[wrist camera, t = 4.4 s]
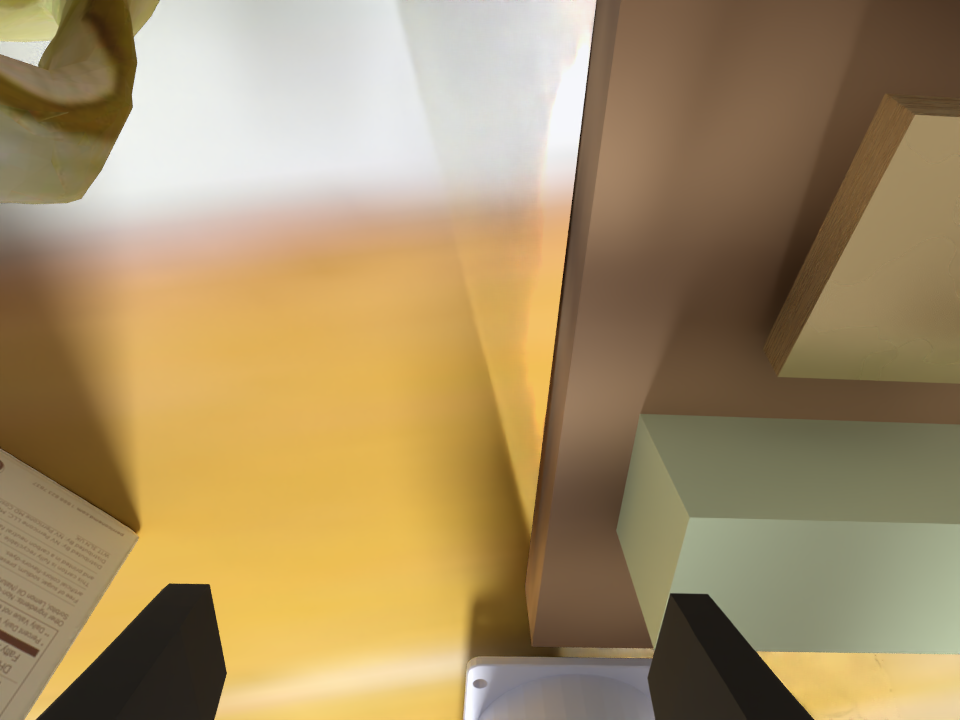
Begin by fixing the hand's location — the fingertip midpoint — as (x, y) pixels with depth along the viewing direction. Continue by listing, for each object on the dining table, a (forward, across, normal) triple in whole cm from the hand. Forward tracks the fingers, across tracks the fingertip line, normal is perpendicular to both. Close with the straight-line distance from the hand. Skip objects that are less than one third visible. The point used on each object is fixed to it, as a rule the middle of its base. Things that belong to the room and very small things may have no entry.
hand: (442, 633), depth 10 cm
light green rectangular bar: (+7, -11, +2) cm, 13 cm away
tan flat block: (+5, -10, -5) cm, 12 cm away
